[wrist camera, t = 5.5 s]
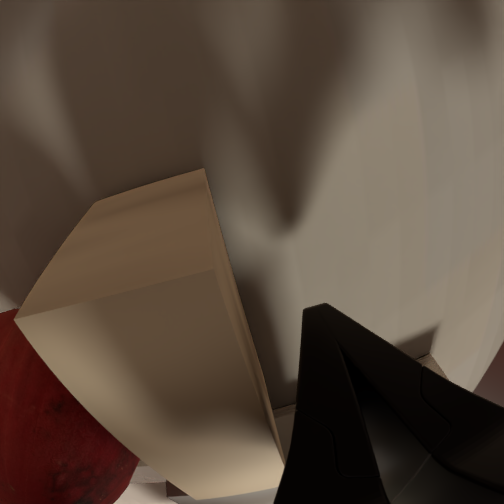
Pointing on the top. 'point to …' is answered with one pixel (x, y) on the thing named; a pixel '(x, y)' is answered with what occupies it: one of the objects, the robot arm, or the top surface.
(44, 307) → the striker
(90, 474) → the red round solid
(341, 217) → the top surface
